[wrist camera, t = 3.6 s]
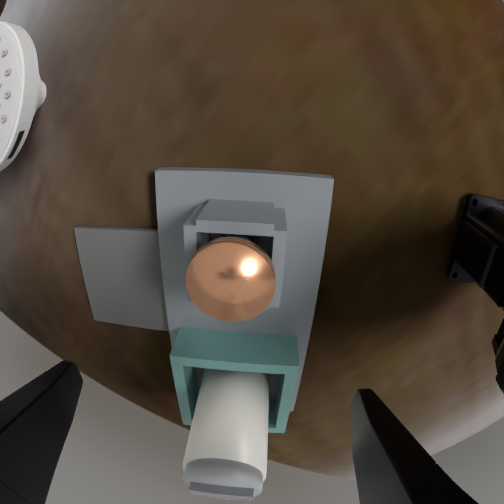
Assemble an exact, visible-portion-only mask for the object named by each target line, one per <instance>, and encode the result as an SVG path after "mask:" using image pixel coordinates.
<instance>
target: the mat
mask: <svg viewBox="0 0 504 504" xmlns="http://www.w3.org/2000/svg"><path fill="white" fill-rule="evenodd" d="M74 232H75V238H76V243H77V249H78V254H79V259H80V264H81V268H82V273H83V277H84V282H85V286H86V290H87V294H88V298H89V302H90V306H91V309H92V313H93V317H94V320H96V321H101V322H107V323H113V324H120V325H126V326H133V327H140V328H147V329H154V330H162V331H169V326H168V319H167V312H166V304H165V296H164V287H163V278H162V268H161V258H160V247H159V235H158V229H143V228H121V227H97V226H76V227H74Z"/></svg>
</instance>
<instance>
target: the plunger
mask: <svg viewBox="0 0 504 504" xmlns="http://www.w3.org/2000/svg"><path fill="white" fill-rule="evenodd" d="M186 288H187V291H188V294H189V296H190V298H191V299H192V301H193V302H194V304H195V305H196V306H197V307H198V308H199V309H200V310H201V311H203V312H204V313H206V314H207V315H209V316H211V317H213V318H216V319H219V320H223V321H229V322H238V321H245V320H248V319H251V318H254V317H256V316H258V315H259V314H261V313H262V312H263V311H264V310H265V309H266V308H267V307H268V306H269V305H270V303H271V301H272V299H273V297H274V294H275V269H274V266H273V263H272V261H271V259H270V258H269V256H268V255H267V253H266V252H265V251H264V250H263V249H262V248H261V247H259V236H256V235H240V234H222V237H221V238H217V239H214V240H211V241H209V242H207V243H206V244H204V245H203V246H202V247H200V248H199V249H198V251H197V252H196V253H195V255H194V257H193V258H192V260H191V263H190V265H189V267H188V269H187V272H186Z"/></svg>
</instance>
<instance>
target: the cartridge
mask: <svg viewBox="0 0 504 504" xmlns="http://www.w3.org/2000/svg"><path fill="white" fill-rule="evenodd" d="M269 374H270V373H254V372H240V371H228V370H218V369H208V368H205V369H204V373H203V377H202V382H201V386H200V390H199V395H198V399H197V403H196V407H195V412H194V416H193V421H192V425H191V429H190V434H189V438H188V443H187V447H186V452H185V456H184V461H183V466H182V468H183V470H184V477H183V483H184V485H185V486H186V487H188V488H189V491H190V494H194V495H200V496H208V497H214V498H220V499H234V500H249V501H253V497H255V496H257V495H259V494H260V493H261V492H262V484H263V481H264V480H265V479H266V472H267V445H268V413H269Z"/></svg>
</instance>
